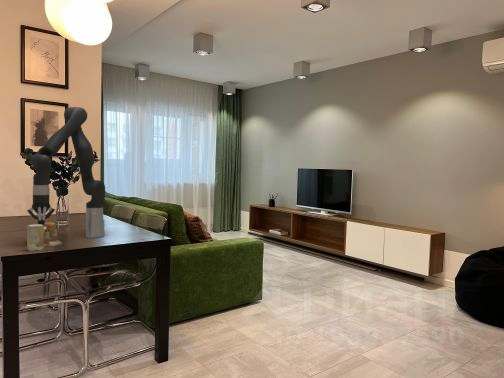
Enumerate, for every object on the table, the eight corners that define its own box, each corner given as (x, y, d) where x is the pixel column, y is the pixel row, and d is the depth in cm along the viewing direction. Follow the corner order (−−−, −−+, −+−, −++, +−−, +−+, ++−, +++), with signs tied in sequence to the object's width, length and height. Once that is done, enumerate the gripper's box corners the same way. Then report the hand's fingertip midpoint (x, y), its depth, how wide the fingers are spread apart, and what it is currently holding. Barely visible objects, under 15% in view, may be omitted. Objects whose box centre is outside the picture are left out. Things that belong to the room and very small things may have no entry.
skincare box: (29, 251, 179) (29, 226, 179) (26, 249, 182) (26, 225, 182) (44, 249, 184) (44, 225, 183) (40, 247, 187) (40, 223, 186)
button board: (52, 239, 208) (52, 226, 208) (62, 244, 196) (62, 231, 195) (26, 241, 199) (26, 228, 199) (34, 247, 187) (34, 234, 186)
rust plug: (53, 235, 202) (52, 222, 202) (55, 236, 199) (55, 223, 198) (43, 236, 199) (43, 222, 199) (45, 237, 196) (45, 224, 195)
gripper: (53, 192, 198) (53, 225, 199) (24, 193, 189) (24, 227, 190) (57, 193, 193) (57, 227, 194) (28, 194, 184) (28, 229, 185)
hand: (41, 227), depth 192 cm, fingers closed
